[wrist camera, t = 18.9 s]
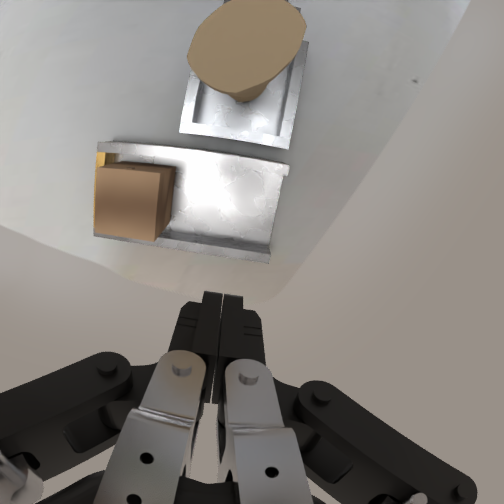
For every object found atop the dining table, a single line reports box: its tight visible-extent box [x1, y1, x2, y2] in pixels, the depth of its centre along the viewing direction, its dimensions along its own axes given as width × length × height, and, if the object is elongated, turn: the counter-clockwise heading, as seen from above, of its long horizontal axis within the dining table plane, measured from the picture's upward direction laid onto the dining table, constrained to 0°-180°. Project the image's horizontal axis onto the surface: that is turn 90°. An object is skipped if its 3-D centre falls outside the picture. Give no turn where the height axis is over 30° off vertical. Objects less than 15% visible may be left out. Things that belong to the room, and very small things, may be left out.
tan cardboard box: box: [95, 161, 176, 242], centre depth 26 cm, size 6×6×6 cm
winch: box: [179, 0, 309, 149], centre depth 22 cm, size 16×10×6 cm, turn 170°
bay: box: [94, 141, 290, 264], centre depth 28 cm, size 10×19×4 cm, turn 80°
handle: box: [187, 0, 307, 102], centre depth 18 cm, size 5×6×15 cm
